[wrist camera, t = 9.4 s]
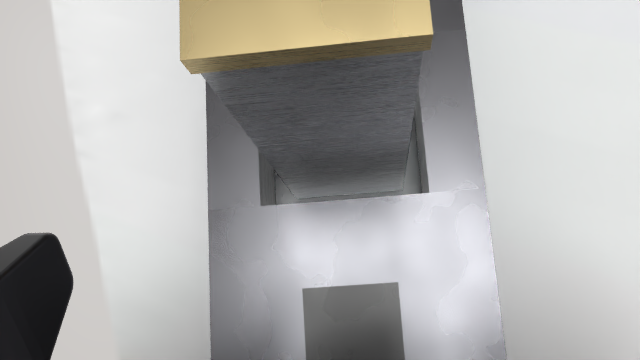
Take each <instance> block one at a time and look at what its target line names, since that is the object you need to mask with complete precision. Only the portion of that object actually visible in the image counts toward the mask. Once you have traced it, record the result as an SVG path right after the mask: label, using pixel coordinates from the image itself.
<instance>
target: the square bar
mask: <svg viewBox="0 0 640 360" xmlns="http://www.w3.org/2000/svg"><path fill="white" fill-rule="evenodd" d="M432 38H433V27H432V19H431V10H430V1H429V0H180V61H181V62H182V63H183V65H184V66H185V67H186V68H187V69H188V71H189V72H190V73H191V74H199V73H201V75H202V76H203V77H204V79H205V80H206V81H207V82H208V84H209V85H210V86H211V88H212V89H213V90H214V92H215V93H216V94H217V96H218V97H219V98H220V99H221V101H222V102H223V103H224V105H225V106H226V107H227V109H228V110H229V111H230V113H231V114H232V115H233V116H234V118H235V119H236V120H237V122H238V123H239V124H240V126H241V127H242V128H243V130H244V131H245V132H246V133H247V135H248V136H249V137H250V139H251V140H252V141H253V143H254V144H255V145H256V147H257V148H258V149H259V150H260V152H261V153H262V154H263V156H264V157H265V158H266V160H267V161H268V162H269V164H270V165H271V166H272V167H273V169H274V170H275V171H276V173H277V174H278V175H279V177H280V178H281V179H282V181H283V182H284V183H285V184H286V186H287V187H288V188H289V190H290V191H291V192H292V194H293V195H294V196H295V198H296V199H302V198H314V197H326V196H338V195H351V194H363V193H375V192H388V191H400V190H403V185H404V178H405V171H406V164H407V158H408V151H409V144H410V137H411V130H412V124H413V117H414V110H415V103H416V96H417V90H418V83H419V76H420V69H421V62H422V55H423V51H425V50H431V44H432Z"/></svg>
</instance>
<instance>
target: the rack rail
mask: <svg viewBox="0 0 640 360" xmlns="http://www.w3.org/2000/svg"><path fill="white" fill-rule="evenodd" d="M429 1H430V10H431V19H432V27H433V38H432V44H431V50H425V51H423V55H422V62H421V69H420V76H419V83H418V90H417V96H416V103H415V110H414V118H415V128H416V138H417V148H418V158H419V168H420V178H421V188H422V193H420V194H407V195H394V196H382V197H369V198H357V199H344V200H331V201H319V202H306V203H294V204H281V205H276V200H275V178H274V169H273V167H272V166H271V165H270V164H269V162H268V161H267V160H266V158H265V157H264V156H263V154H262V153H261V152H260V150H259V149H258V148H257V147H256V145H255V144H254V143H253V141H252V140H251V139H250V137H249V136H248V135H247V133H246V132H245V131H244V130H243V128H242V127H241V126H240V124H239V123H238V122H237V120H236V119H235V118H234V116H233V115H232V114H231V113H230V111H229V110H228V109H227V107H226V106H225V105H224V103H223V102H222V101H221V99H220V98H219V97H218V96H217V94H216V93H215V92H214V90H213V89H212V88H211V86H210V85H209V84H208V82H207V81H206V116H207V168H208V221H209V273H210V326H211V360H507V358H506V350H505V342H504V334H503V326H502V318H501V310H500V302H499V294H498V286H497V278H496V270H495V262H494V254H493V246H492V238H491V230H490V222H489V214H488V206H487V198H486V190H485V182H484V174H483V166H482V158H481V150H480V142H479V134H478V126H477V118H476V110H475V102H474V94H473V86H472V78H471V70H470V62H469V54H468V46H467V39H466V31H465V23H464V15H463V7H462V0H429Z"/></svg>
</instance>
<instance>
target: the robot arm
mask: <svg viewBox="0 0 640 360" xmlns="http://www.w3.org/2000/svg"><path fill="white" fill-rule="evenodd" d="M72 290H73V276H72V272H71V270H70V267H69V264H68V262H67V259H66V257H65V254H64V252H63V249H62V247H61V244H60V242H59V240H58V238H57V237H56V236H55V235H54V234H52V233H28V234H24V235H22V236H20V237H18V238H17V239H15V240H13V241H11V242H10V243H8V244H6V245H4V246H2V247H0V360H50V359H51V355H52V352H53V349H54V346H55V343H56V340H57V337H58V334H59V331H60V327H61V324H62V321H63V318H64V315H65V312H66V309H67V306H68V303H69V300H70V297H71V293H72Z"/></svg>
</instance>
